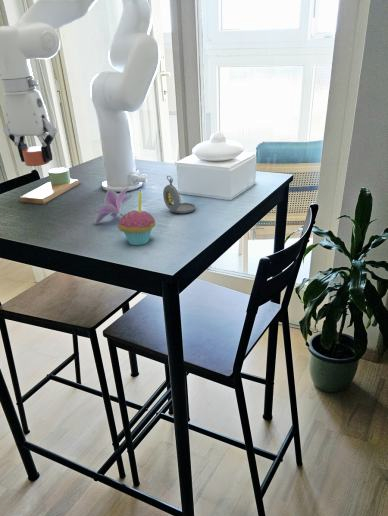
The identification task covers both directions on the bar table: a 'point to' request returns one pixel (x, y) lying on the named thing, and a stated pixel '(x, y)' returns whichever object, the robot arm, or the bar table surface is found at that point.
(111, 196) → the lily
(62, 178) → the sage disc
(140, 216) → the cupcake
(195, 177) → the butter dish
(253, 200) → the bar table surface
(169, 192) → the pocket watch
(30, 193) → the board
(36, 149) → the terracotta disc
